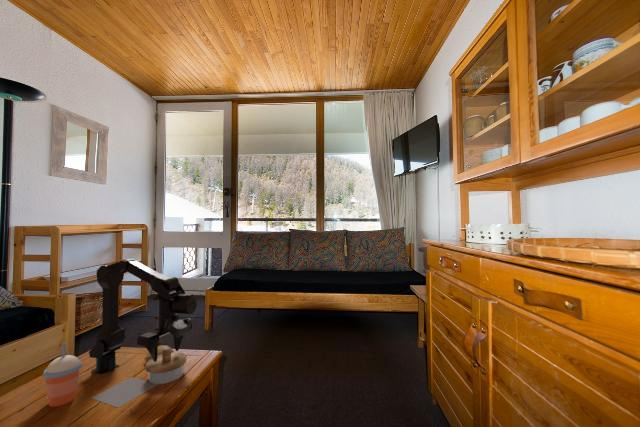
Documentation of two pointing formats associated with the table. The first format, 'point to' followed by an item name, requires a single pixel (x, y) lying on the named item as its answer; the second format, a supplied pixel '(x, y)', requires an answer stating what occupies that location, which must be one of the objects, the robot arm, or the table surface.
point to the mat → (124, 392)
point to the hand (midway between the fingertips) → (166, 355)
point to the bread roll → (157, 353)
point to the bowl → (165, 376)
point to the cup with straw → (62, 378)
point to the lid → (166, 361)
